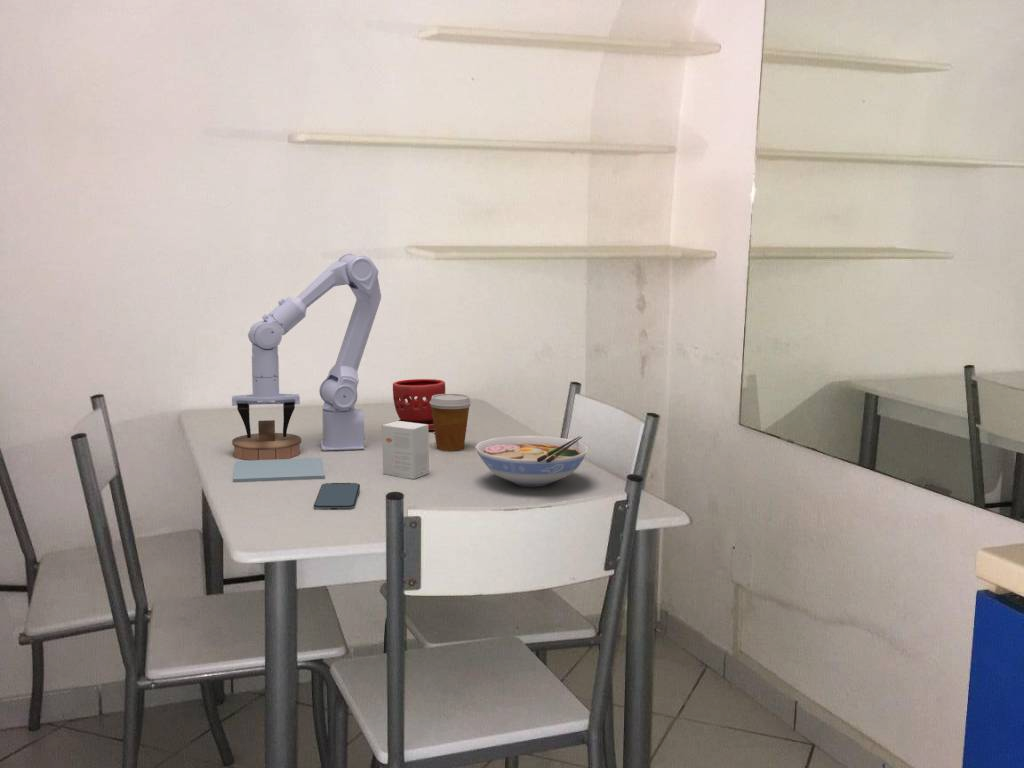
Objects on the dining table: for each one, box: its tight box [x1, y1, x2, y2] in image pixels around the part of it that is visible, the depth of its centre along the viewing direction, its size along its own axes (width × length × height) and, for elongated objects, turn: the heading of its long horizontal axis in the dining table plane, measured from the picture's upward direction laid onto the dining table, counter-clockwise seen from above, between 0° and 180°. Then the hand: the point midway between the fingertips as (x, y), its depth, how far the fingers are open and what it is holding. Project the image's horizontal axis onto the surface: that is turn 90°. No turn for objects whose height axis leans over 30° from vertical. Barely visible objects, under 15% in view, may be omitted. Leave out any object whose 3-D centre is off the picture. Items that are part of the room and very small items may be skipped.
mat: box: [232, 457, 326, 483], centre depth 221 cm, size 18×16×1 cm
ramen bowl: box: [474, 435, 589, 488], centre depth 213 cm, size 25×23×8 cm
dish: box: [233, 444, 300, 461], centre depth 236 cm, size 14×14×2 cm
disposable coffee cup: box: [430, 393, 472, 452], centre depth 243 cm, size 10×10×12 cm
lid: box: [231, 419, 302, 450], centre depth 236 cm, size 15×15×5 cm
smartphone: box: [313, 482, 361, 511], centre depth 200 cm, size 8×2×15 cm
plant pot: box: [392, 378, 446, 432], centre depth 266 cm, size 13×13×12 cm
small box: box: [381, 420, 430, 480], centre depth 219 cm, size 8×6×10 cm
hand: (266, 436), depth 236 cm, fingers open, 7 cm apart
